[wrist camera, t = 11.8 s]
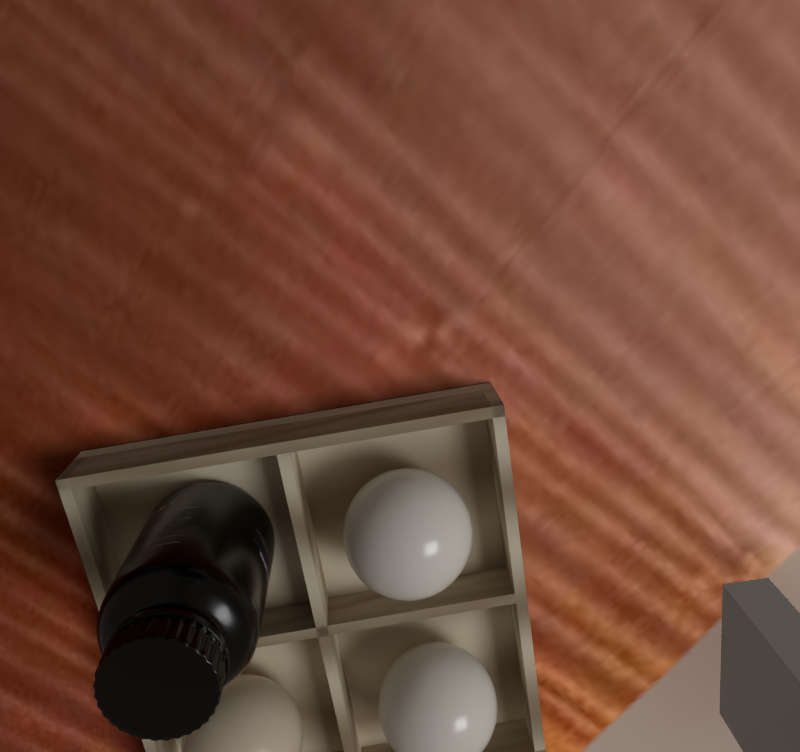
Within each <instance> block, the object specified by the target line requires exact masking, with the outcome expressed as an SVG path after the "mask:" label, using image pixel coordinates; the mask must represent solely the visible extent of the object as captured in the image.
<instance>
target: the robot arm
mask: <svg viewBox="0 0 800 752" xmlns="http://www.w3.org/2000/svg"><path fill="white" fill-rule="evenodd" d="M720 714H721V715H722V717H723V719H724V721H725V722H726V724H727V726H728V727H729V729H730V730H731V732H732V734H733V735H734V737H735V739H736V740H737V742H738V744H739V745H740V747H741V748H742V750H743V752H800V613H799V612H798V611H797V610H796V609H795V607H794V606H793V605H792V604H791V603H790V602H789V601H788V600H787V598H786V597H785V596H784V595H783V594H782V593H781V592H780V591H779V590H778V589H777V587H776V586H775V585H774V584H773V583H772V582H771V581H770V580H769V578H764V579H757V580H750V581H742V582H735V583H728V584H723V599H722V641H721V680H720Z"/></svg>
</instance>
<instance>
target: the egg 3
mask: <svg viewBox="0 0 800 752" xmlns="http://www.w3.org/2000/svg"><path fill="white" fill-rule="evenodd" d="M378 711H379V719H380V723H381V727H382V730H383V733H384V735H385V737H386V739H387V741H388V743H389V744H390V746H391V747H392V748H393V750H394V751H395V752H482V751H483V750H484V749H485V747H486V746H487V744H488V743H489V741H490V739H491V736H492V734H493V731H494V728H495V724H496V719H497V698H496V693H495V688H494V686H493V683H492V680H491V678H490V676H489V674H488V673H487V671H486V669H485V668H484V666H483V665H482V664H481V663H480V662H479V661H478V659H477V658H475V657H474V656H473V655H472V654H470V653H469V652H468V651H466V650H465V649H463V648H461V647H459V646H456V645H453V644H449V643H445V642H428V643H423V644H420V645H417V646H415V647H413V648H410V649H409V650H407V651H406V652H404V653H403V654H402V655H400V656H399V657H398V658H397V659H396V660H395V661H394V663H393V664H392V665H391V667H390V668H389V669H388V671H387V673H386V675H385V677H384V679H383V682H382V685H381V688H380V693H379V703H378Z"/></svg>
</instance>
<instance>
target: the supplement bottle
mask: <svg viewBox="0 0 800 752" xmlns="http://www.w3.org/2000/svg"><path fill="white" fill-rule="evenodd" d="M274 550H275V534H274V529H273V526H272V523H271V520H270V518H269V516H268V514H267V512H266V511H265V509H264V508H263V507H262V506H261V504H260V503H259V502H258V501H257V500H256V499H255V498H253V497H252V496H251V495H249V494H248V493H246V492H245V491H243V490H241V489H239V488H237V487H234V486H232V485H228V484H224V483H219V482H199V483H193V484H189V485H186V486H183V487H181V488H179V489H177V490H175V491H173V492H171V493H170V494H168V495H167V496H166V497H165V498H163V499H162V500H161V501H160V502H159V503H158V505H157V506H156V507H155V508H154V510H153V511H152V513H151V515H150V516H149V518H148V519H147V521H146V523H145V525H144V526H143V528H142V530H141V532H140V533H139V535H138V537H137V539H136V541H135V542H134V544H133V546H132V548H131V550H130V551H129V553H128V555H127V557H126V559H125V560H124V562H123V564H122V566H121V568H120V569H119V571H118V573H117V575H116V577H115V578H114V580H113V582H112V584H111V586H110V588H109V589H108V591H107V593H106V595H105V597H104V600H103V602H102V604H101V607H100V610H99V614H98V618H97V638H98V643H99V647H100V651H101V653H102V658H101V660H100V662H99V666H98V668H97V670H96V672H95V681H94V684H93V687H94V690H95V694H94V697H95V699H96V700H97V707H98V708H99V709H100V710H101V711H102V714H103V716H104V717H105V718H107V719H108V720H109V722H110V723H111V724H112V725H114V726H117V728H118V729H119V730H120V731H123V732H127V733H128V734H129V735H130V736H135V737H139V738H140V739H142V740H144V739H150V740H152V741H158V740H164V741H168V740H170V739H179V738H181V737H182V736H184V735H190V734H191V733H192V732H193V731H195V730H198V729H200V728H201V726H202V725H203V724H205V723H207V722H208V721H209V719H210V716H212V715H213V714H214V713H215V711H216V708H217V705H218V704H219V702H220V700H221V696H222V692H223V688H224V687H226V686H227V685H229V684H230V683H231V682H233V681H234V680H235V679H236V678H237V677H238V676H239V675H240V674H241V673H242V672H243V671H244V669H245V668H246V667H247V665H248V664H249V662H250V660H251V659H252V657H253V655H254V652H255V650H256V646H257V643H258V639H259V635H260V629H261V624H262V618H263V613H264V607H265V602H266V596H267V591H268V585H269V580H270V574H271V569H272V563H273V557H274Z"/></svg>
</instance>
